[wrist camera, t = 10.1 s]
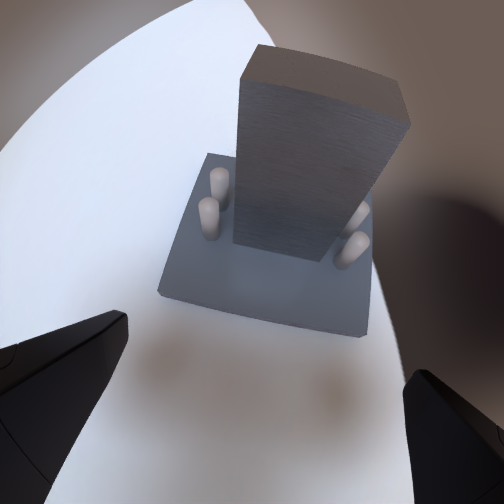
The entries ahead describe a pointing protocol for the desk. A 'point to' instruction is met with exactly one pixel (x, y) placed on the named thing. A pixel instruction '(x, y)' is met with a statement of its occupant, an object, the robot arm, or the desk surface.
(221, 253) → the grey pegged stand
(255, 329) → the desk surface
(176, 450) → the desk surface
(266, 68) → the block
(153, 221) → the desk surface
